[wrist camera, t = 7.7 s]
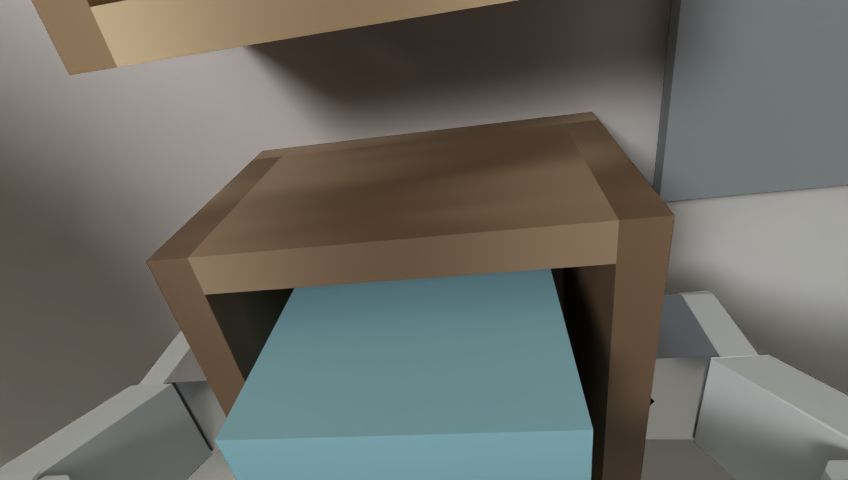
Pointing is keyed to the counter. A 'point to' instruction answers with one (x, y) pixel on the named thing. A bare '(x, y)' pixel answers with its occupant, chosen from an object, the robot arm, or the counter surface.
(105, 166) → the counter surface
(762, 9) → the slate mat
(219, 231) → the brown wooden square tray
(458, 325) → the light blue block
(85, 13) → the light wooden open box
